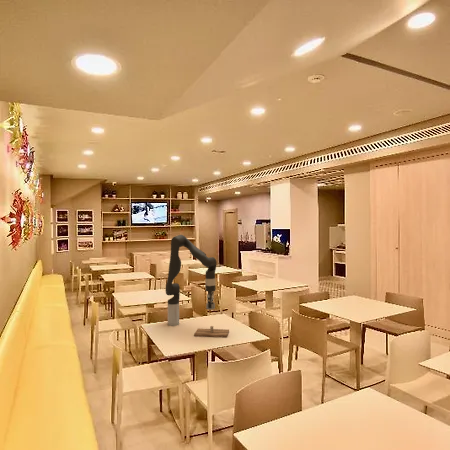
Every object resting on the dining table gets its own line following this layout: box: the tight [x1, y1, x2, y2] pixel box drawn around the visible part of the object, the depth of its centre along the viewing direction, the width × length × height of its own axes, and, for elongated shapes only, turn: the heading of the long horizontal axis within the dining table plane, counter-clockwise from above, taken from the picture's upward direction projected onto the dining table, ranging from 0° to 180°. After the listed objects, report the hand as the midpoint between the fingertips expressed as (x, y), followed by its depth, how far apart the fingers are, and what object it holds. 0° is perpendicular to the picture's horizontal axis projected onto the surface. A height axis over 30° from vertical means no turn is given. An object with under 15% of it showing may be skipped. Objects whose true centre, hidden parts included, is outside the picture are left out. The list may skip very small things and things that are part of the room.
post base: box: [193, 325, 230, 339], centre depth 267 cm, size 14×24×6 cm, turn 83°
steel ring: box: [205, 301, 216, 311], centre depth 266 cm, size 6×6×4 cm
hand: (210, 307), depth 266 cm, fingers closed on steel ring, 6 cm apart
